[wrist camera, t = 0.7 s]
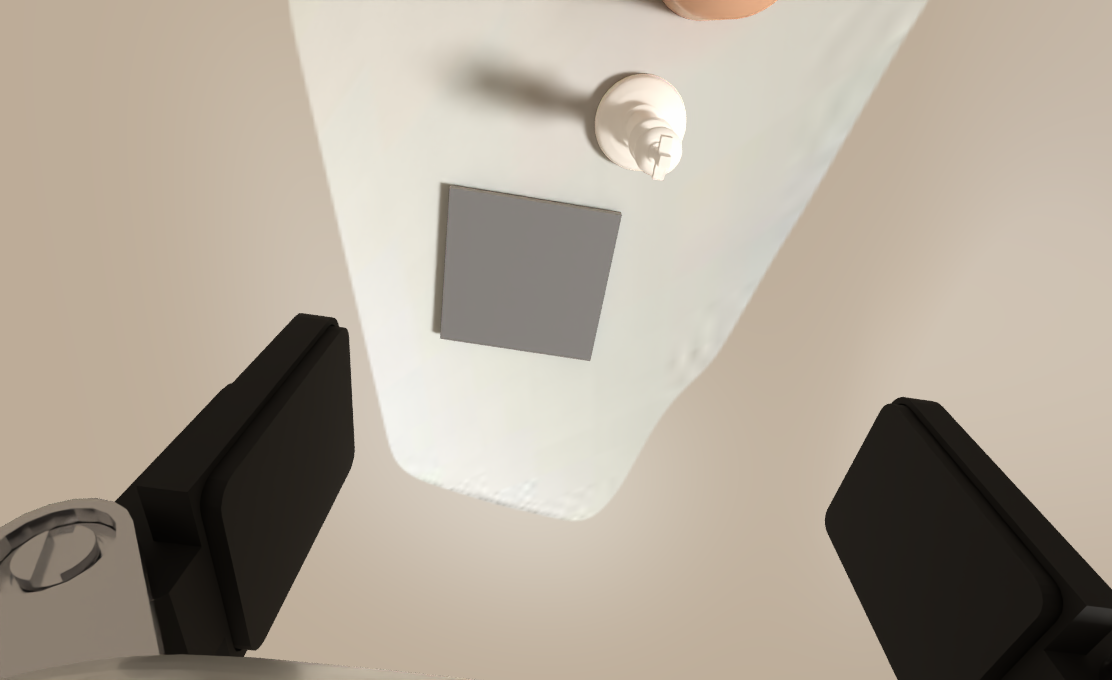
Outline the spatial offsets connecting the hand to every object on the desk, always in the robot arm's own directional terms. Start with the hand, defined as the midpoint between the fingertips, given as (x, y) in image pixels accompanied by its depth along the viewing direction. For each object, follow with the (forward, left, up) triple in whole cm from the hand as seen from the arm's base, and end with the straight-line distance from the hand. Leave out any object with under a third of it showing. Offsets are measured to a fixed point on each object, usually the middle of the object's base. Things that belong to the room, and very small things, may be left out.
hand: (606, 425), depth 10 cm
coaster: (+8, -2, -25) cm, 26 cm away
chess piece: (-2, +3, -25) cm, 25 cm away
